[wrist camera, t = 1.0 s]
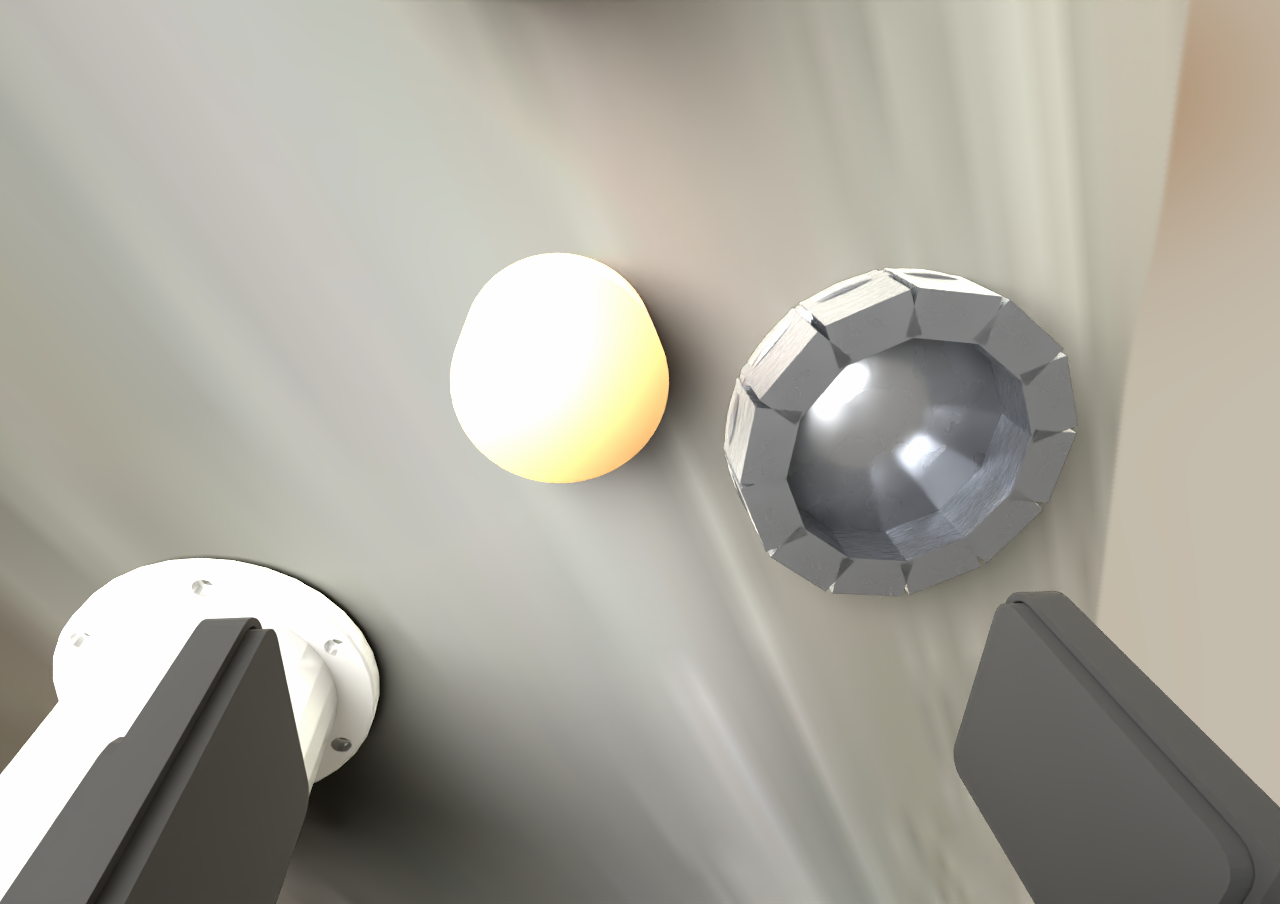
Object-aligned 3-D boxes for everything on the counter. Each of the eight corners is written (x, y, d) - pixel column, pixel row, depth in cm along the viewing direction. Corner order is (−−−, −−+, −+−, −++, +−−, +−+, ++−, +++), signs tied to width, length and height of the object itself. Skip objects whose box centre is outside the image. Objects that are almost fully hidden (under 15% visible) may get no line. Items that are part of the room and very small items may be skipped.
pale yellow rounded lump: (642, 440, 30) (653, 488, 26) (461, 427, 29) (448, 476, 25) (666, 263, 27) (683, 290, 23) (465, 241, 26) (452, 267, 22)
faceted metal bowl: (973, 561, 34) (1009, 602, 31) (701, 548, 32) (715, 590, 29) (1076, 285, 29) (1130, 307, 26) (758, 250, 27) (781, 269, 24)
